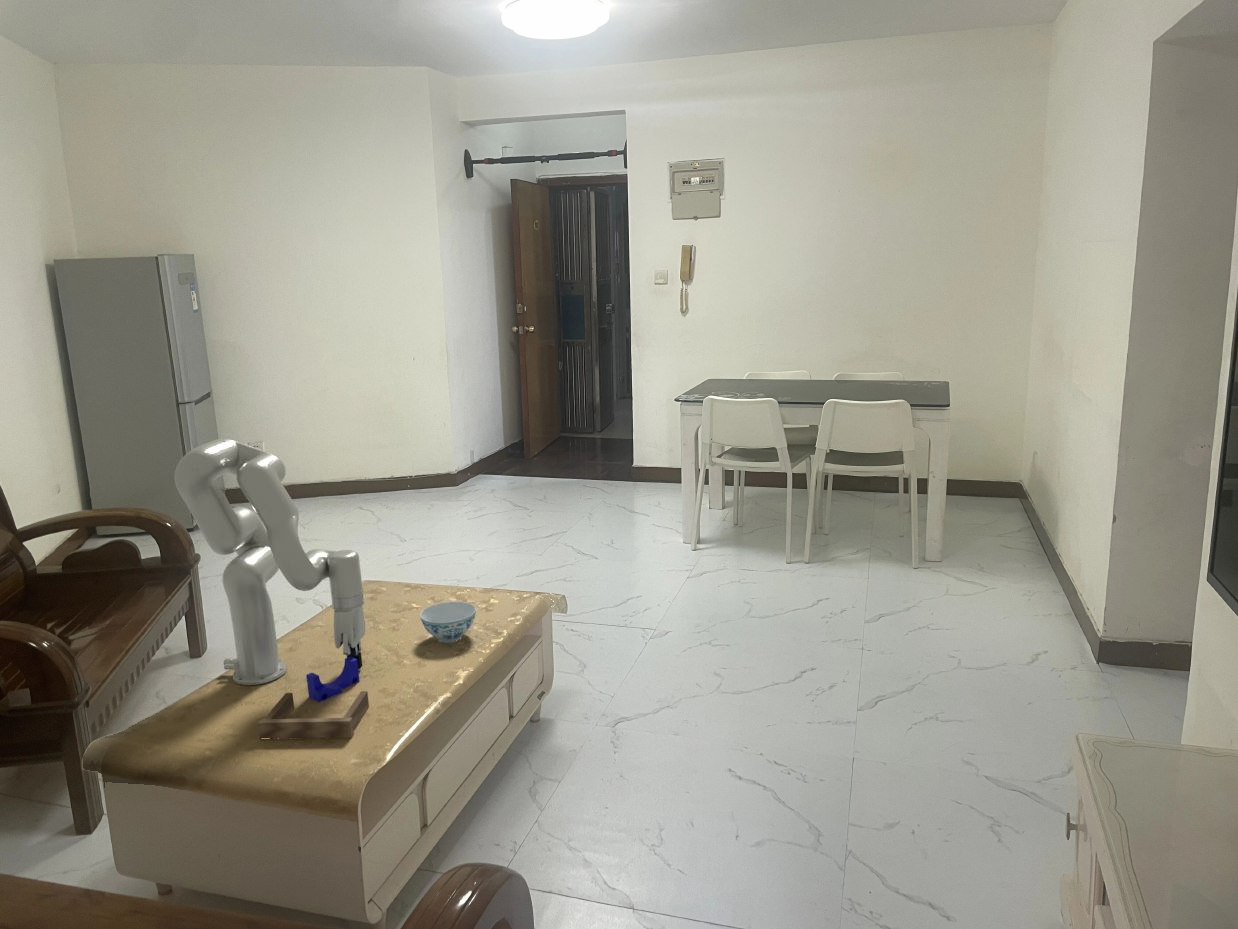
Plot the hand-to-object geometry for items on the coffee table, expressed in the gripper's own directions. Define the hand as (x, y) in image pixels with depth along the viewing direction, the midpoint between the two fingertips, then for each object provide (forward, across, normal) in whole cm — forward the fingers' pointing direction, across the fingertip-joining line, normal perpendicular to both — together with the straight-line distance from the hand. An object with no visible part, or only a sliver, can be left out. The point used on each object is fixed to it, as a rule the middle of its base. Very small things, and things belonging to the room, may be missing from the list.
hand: (355, 668), depth 215 cm
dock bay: (+1, +25, 0) cm, 25 cm away
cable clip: (+1, +10, -1) cm, 10 cm away
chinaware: (+1, -19, +20) cm, 28 cm away
